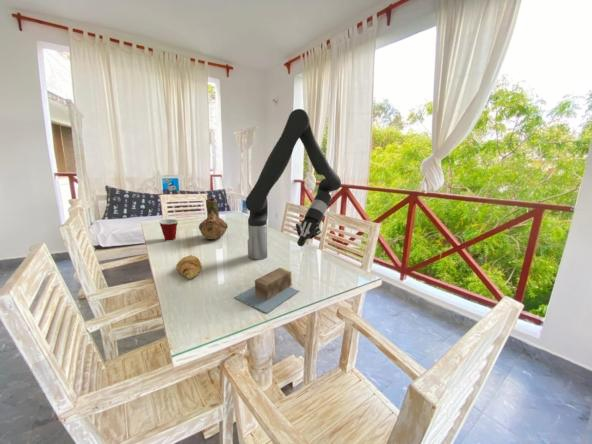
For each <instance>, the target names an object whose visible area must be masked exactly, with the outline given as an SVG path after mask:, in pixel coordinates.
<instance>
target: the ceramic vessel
mask: <svg viewBox="0 0 592 444" xmlns="http://www.w3.org/2000/svg"><path fill="white" fill-rule="evenodd" d="M205 204H206V206H205V208H206V214H207V217H206V219H204V220H203V221H202V222H200V223H199V224H198V229H199V231H200V233H201V235H202V236H203V237H204V238H206V239H209V240H216V239H219V238H221V237H223V236H224V235H225V233H226V232H227V229H228V223H227V222H226V221H225V220H223V218H221V217H220V215H219V206H218V200H217V199H216V198H215V197H213V198H207V199H205Z"/></svg>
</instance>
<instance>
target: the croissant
mask: <svg viewBox="0 0 592 444" xmlns="http://www.w3.org/2000/svg"><path fill="white" fill-rule="evenodd" d="M201 264H202V263H201V260H200V259H199V258H198V257H197V256H194V255H192V254H191V255H187V256H184V257H182V258H181V259H180V260H179V261H178V262H177V264H176V265H175V269H176V271H178V273H179V274H181V275H182V276H183V277H185V278H187V279H188V280H191V279H194V276H195V277H196V276H197V275H198V274H199V273H200V271H201V270H202V265H201Z"/></svg>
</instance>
